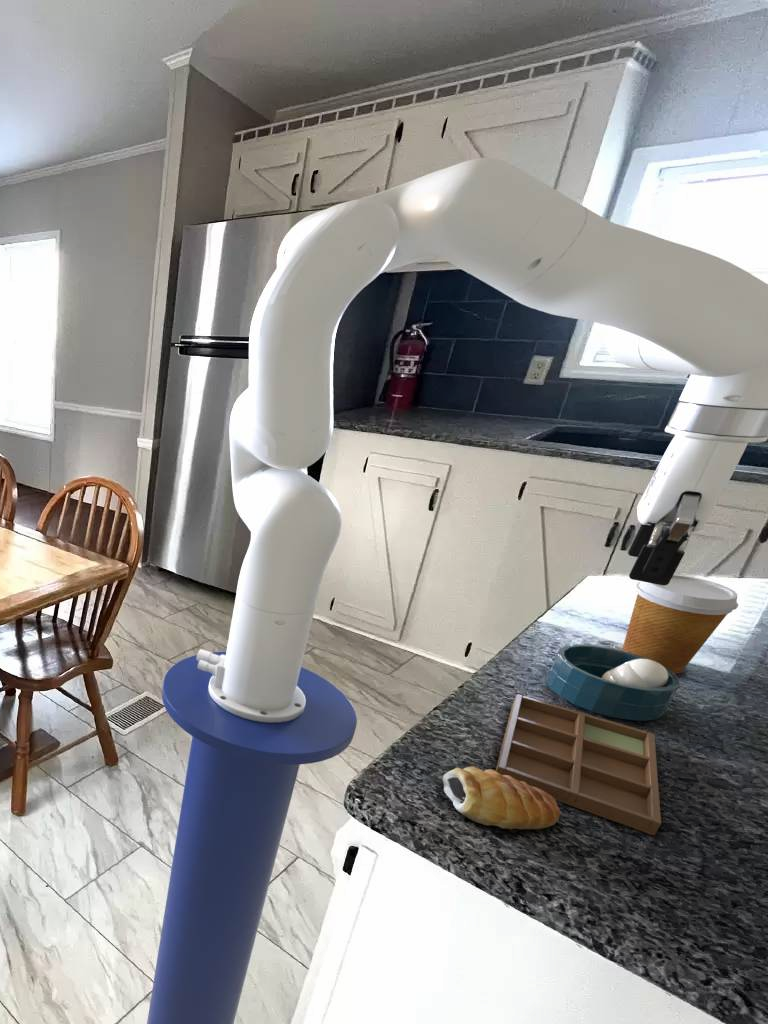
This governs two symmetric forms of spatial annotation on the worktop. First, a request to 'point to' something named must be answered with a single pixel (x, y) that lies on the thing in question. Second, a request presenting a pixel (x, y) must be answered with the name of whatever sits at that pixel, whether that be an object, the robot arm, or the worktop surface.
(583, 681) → the bowl
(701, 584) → the disposable coffee cup
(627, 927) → the worktop surface
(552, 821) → the pastry
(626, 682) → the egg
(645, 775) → the compartment tray
